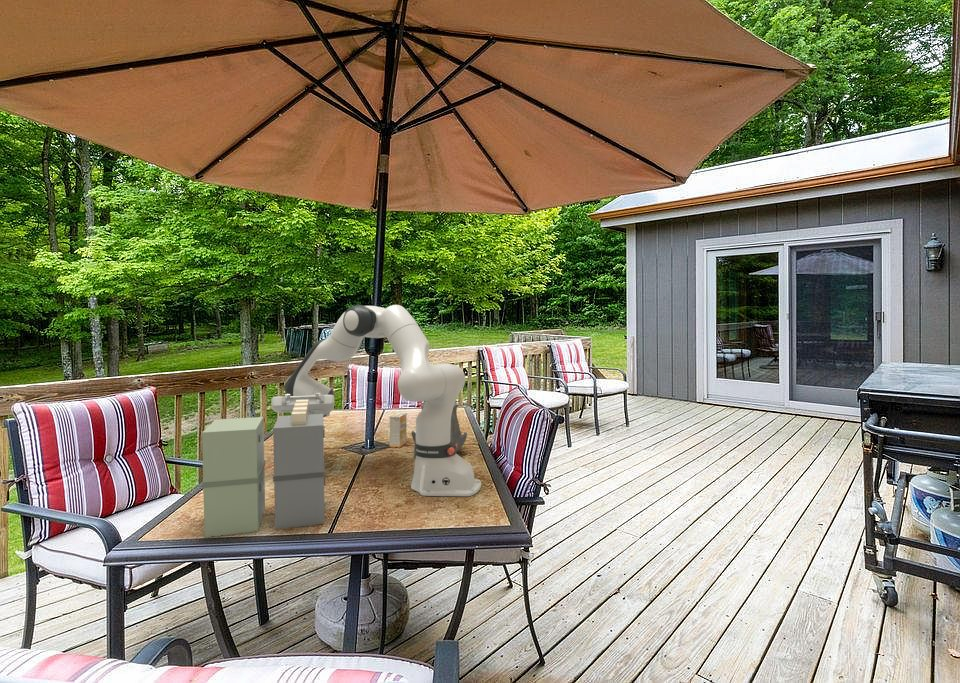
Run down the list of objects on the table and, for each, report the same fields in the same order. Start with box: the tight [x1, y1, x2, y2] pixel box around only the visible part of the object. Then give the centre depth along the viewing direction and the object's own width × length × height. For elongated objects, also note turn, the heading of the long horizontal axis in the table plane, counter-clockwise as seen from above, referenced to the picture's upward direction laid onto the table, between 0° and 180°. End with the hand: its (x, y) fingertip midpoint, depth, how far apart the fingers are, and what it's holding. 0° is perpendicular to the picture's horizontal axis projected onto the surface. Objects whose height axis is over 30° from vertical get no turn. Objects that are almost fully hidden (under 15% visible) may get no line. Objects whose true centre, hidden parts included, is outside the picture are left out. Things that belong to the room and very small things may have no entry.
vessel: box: [410, 401, 468, 453], centre depth 197 cm, size 22×22×20 cm
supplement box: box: [389, 412, 407, 449], centre depth 208 cm, size 8×5×13 cm, turn 168°
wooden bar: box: [291, 399, 309, 425], centre depth 139 cm, size 23×4×3 cm, turn 17°
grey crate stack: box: [272, 414, 326, 530], centre depth 135 cm, size 16×13×26 cm
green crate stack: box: [201, 416, 266, 538], centre depth 130 cm, size 16×13×26 cm
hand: (302, 395), depth 163 cm, fingers open, 8 cm apart
